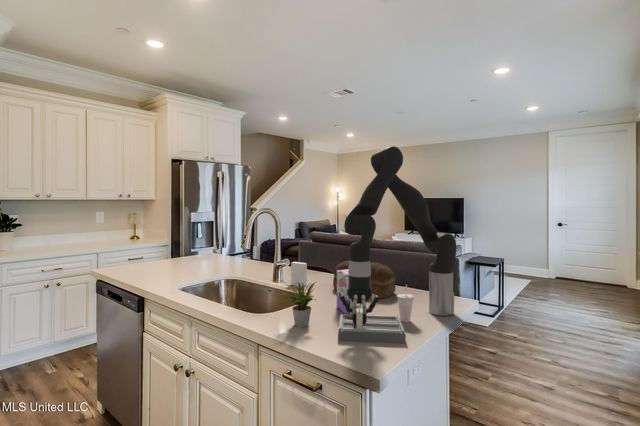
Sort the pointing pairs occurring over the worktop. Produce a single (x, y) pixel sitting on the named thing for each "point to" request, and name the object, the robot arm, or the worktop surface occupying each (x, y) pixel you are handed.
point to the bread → (374, 278)
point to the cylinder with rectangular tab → (298, 273)
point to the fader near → (359, 318)
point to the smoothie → (405, 306)
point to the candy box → (343, 290)
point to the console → (372, 329)
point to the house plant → (301, 304)
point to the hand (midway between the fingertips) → (359, 323)
